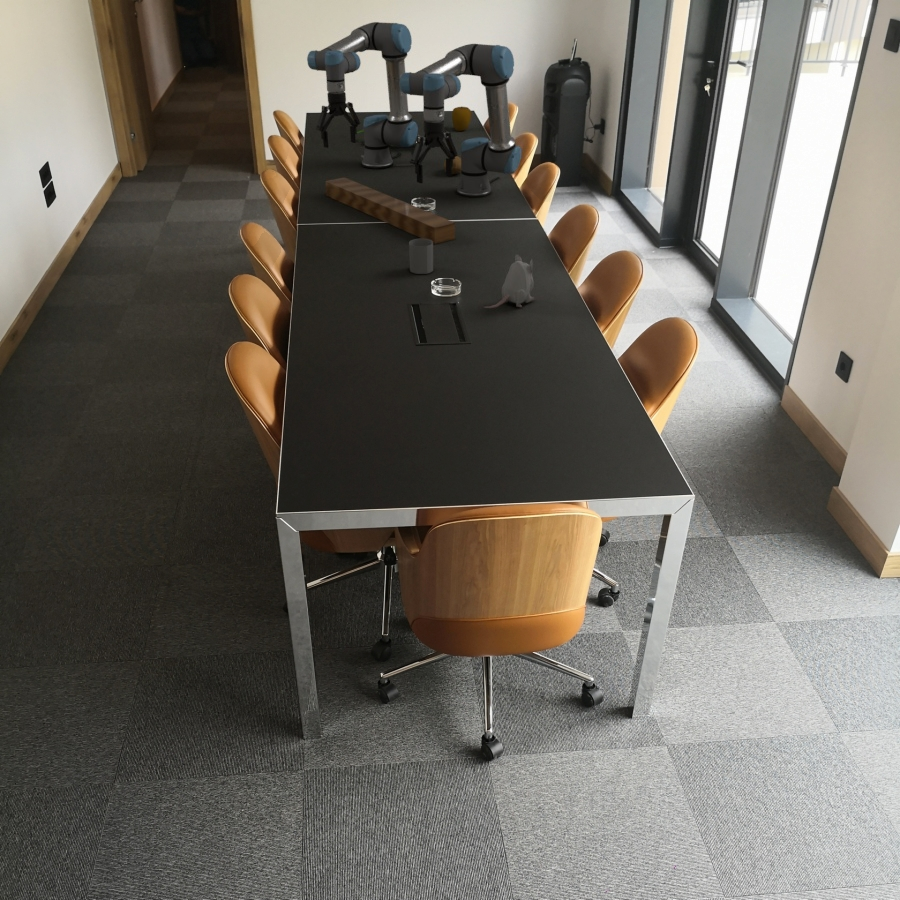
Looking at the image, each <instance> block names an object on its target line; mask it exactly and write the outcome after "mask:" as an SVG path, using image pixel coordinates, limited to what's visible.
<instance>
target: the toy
mask: <svg viewBox="0 0 900 900" xmlns="http://www.w3.org/2000/svg"><path fill="white" fill-rule="evenodd" d="M533 262H534V261H533V259H531V260H530V262H529V263H527V262H523V259H522V257H521V256H520V255H519V254H518V253H515V256H514V262H513V263H511V265H510V266H509V268H508V271H507V273H506V276H505V279H504V282H503V284H502V285H501V286H502V287H501V296H502V297H501V300H500V301H498V302H497V303H496V304H494V305H490V306H483V308H485V309H496V308H498V307H500V306H501V305H503V304H504V303H508V302H511V303H513V304H515V305H516V306H515V307H517V308H523V305H521V304H522V303H525V304H527V303H530V302H534V301H535V297H534V296H531V294H532V292H533V290H534V287H535V283H534V282H535V281H534V278H533V272H534V263H533Z"/></svg>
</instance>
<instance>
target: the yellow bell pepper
mask: <svg viewBox="0 0 900 900" xmlns="http://www.w3.org/2000/svg"><path fill="white" fill-rule="evenodd" d="M451 121H452V125H453V128H454V129H455V131H457V132H463V131H466V130H467V129H468V128H469V126H470V124H471V121H472V111H471V108H469V107H467V106H462V105H461V106H457V107H454V108H452V111H451Z"/></svg>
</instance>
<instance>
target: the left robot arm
mask: <svg viewBox="0 0 900 900" xmlns="http://www.w3.org/2000/svg"><path fill="white" fill-rule="evenodd" d="M412 40H413V39H412V34H411V31H410V29H409V28H408V27H407V25H405V24H403V23H398V22H379V21H374V22H369V23H366V24H363V25H361V26H358V27H357V28H355V29H353V30H351V32H350V34H349V35H347V36H345V37H343V38H341V39H340V40H338V41H336V42H333V43H332V44H330V45H327V46H326V47H324V48H323V49H321V50H317V49H315V50H310V51H309V52H308V54H307V57H306V61H307V65H308V67H309V69H311V70H313V71H320V72H321V71H322V72H325V77H326V91H327V94H326V95H327V103H328V104H327V105H321V112H320V115H319V117H318V122H317V124H316V130H317V131H320V137H321V140H322V142H323V148H325V149H328V148H329V138H328V136H329V135H328V131H327V130H328V128H329V126H330V125H331V122H332V120H333V119H334V118H335V117H339V116H343V117H344V118H345V119H346V120H347V122H348V123H349V124H350V126H349V133H350V143H353V144H357V141H356V140H357V139H356V135H357V134H358V133H357V132H358V130H357V128H358V126H359V125H361V120H360V119H359V117H358V114H357V113H356V111H355V108H354V103H353V102H350V101H347V94H346V78H345V75H347V74H350V73H354V72H356V71H358V70H359V69H360V68H361V62H362V61H361V58H360V56H359V55H358V53H364V52H365V51H377V52H381V58H382V59H383V60H384V61H385V69H386V81H387V91H388V102H389V103H388V104H389V115H387V114H373V115H370V116H366V117H365V118H364V119H363V130H364V131H363V138H364V139H363V140H364V143H365V144H364V151H363V154H360V158H362V159H361V166H362V167H363V168H366V169H371V170H381V169H387V168H390V167H392V166H394V160H393V159H396V158H398V157H400V156H401V151H398V154H397V155H394V156H392V155H391V152H390V151H391V150H390V147H389V146H394V147H401V148H404V147H405V148H409V147H412V146H413V145H414V144H415V143H416V141H417V137H418V133H419V127H418V123H417V122H415V121H413V116H412V114H410V113H409V104H408V103H409V102H408V94H404V93H403V92H402V91H401V89H400V79H401V76H402V74H403V73H406V64H405V63H406V62H405V59H406V58H407V57H408V53H409V52H410V51H411V49H412V43H413V42H412ZM346 102H347V103H346ZM347 110H348V111H347ZM349 113H350V114H349Z"/></svg>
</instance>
